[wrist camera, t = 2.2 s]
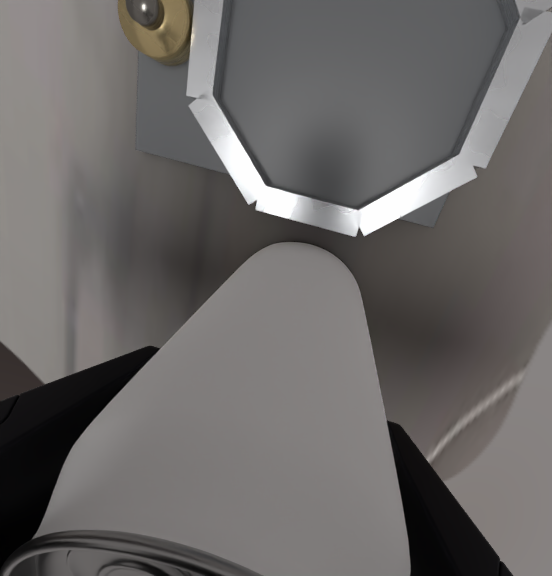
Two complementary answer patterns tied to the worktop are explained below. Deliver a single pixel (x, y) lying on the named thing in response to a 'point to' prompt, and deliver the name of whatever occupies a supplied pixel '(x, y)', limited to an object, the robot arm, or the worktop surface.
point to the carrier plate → (334, 93)
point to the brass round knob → (159, 28)
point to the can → (239, 444)
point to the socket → (409, 194)
